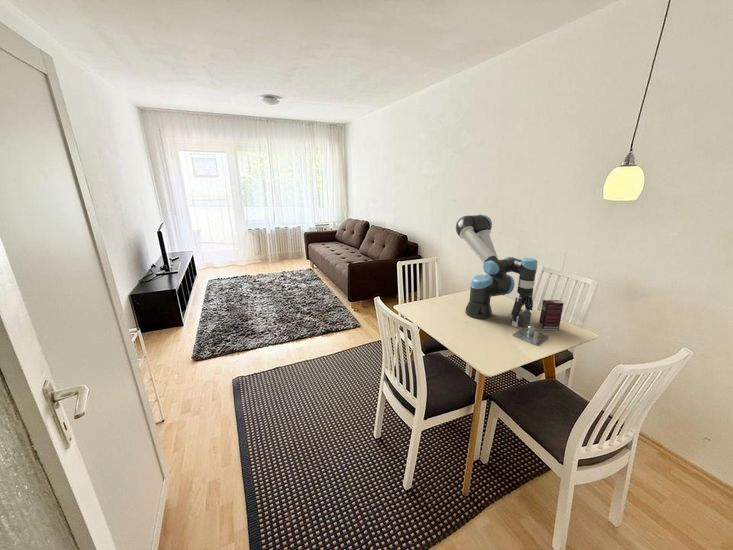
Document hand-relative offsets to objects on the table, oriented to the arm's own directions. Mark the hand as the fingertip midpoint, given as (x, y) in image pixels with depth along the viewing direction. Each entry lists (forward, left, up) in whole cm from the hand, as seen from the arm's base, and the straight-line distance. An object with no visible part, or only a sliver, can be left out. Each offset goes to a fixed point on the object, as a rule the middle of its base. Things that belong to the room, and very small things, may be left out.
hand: (520, 323), depth 166 cm
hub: (+11, -11, 0) cm, 15 cm away
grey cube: (0, 0, 0) cm, 0 cm away
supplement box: (+12, +6, 0) cm, 14 cm away
